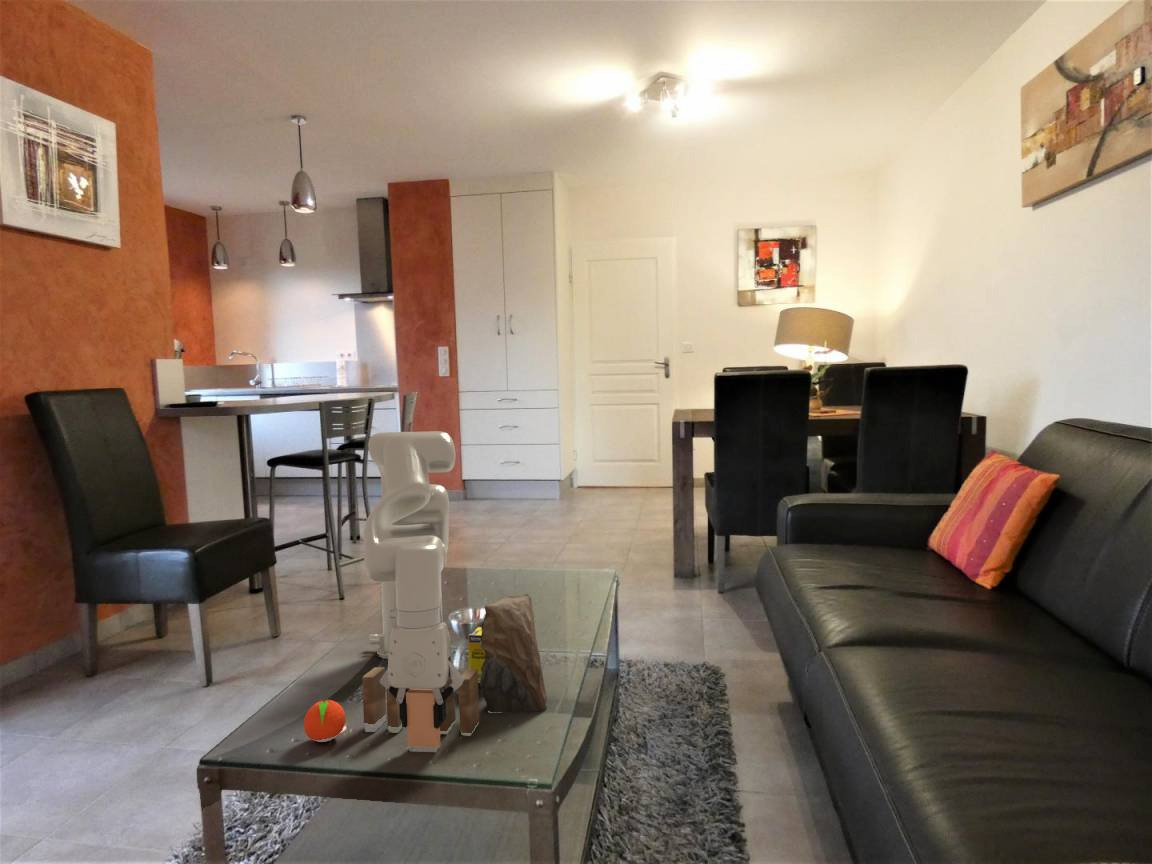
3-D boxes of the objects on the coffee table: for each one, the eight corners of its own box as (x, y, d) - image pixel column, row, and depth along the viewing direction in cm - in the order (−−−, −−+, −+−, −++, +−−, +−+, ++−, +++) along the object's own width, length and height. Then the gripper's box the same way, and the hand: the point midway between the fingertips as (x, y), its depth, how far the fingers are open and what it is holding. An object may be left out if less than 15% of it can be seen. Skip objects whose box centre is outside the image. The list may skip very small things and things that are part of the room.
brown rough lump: (480, 715, 125) (476, 609, 125) (483, 690, 138) (480, 593, 138) (547, 710, 126) (543, 605, 126) (544, 685, 139) (540, 590, 139)
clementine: (344, 749, 113) (343, 707, 113) (301, 756, 111) (299, 713, 111) (347, 729, 121) (346, 690, 121) (306, 735, 119) (305, 696, 119)
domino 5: (460, 735, 117) (458, 679, 117) (468, 723, 122) (467, 669, 122) (471, 736, 117) (469, 679, 117) (479, 723, 121) (477, 669, 122)
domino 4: (435, 735, 117) (433, 678, 118) (445, 722, 122) (443, 668, 122) (446, 735, 117) (444, 678, 117) (455, 723, 122) (453, 668, 122)
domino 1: (364, 732, 119) (362, 677, 119) (376, 720, 124) (374, 667, 124) (374, 732, 119) (372, 677, 119) (386, 720, 124) (384, 667, 124)
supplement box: (496, 688, 139) (494, 635, 139) (468, 686, 140) (467, 634, 140) (504, 677, 144) (503, 627, 144) (478, 676, 146) (477, 626, 146)
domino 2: (387, 733, 119) (385, 677, 119) (399, 721, 124) (397, 667, 124) (398, 733, 118) (396, 677, 119) (409, 721, 123) (407, 667, 123)
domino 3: (436, 753, 111) (434, 693, 111) (407, 752, 111) (405, 692, 111) (440, 747, 113) (438, 688, 113) (412, 746, 113) (410, 688, 113)
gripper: (362, 622, 110) (365, 733, 110) (461, 623, 107) (464, 736, 107) (381, 610, 117) (385, 713, 117) (474, 611, 115) (478, 716, 115)
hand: (423, 723), depth 112 cm, fingers closed on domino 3, 4 cm apart
